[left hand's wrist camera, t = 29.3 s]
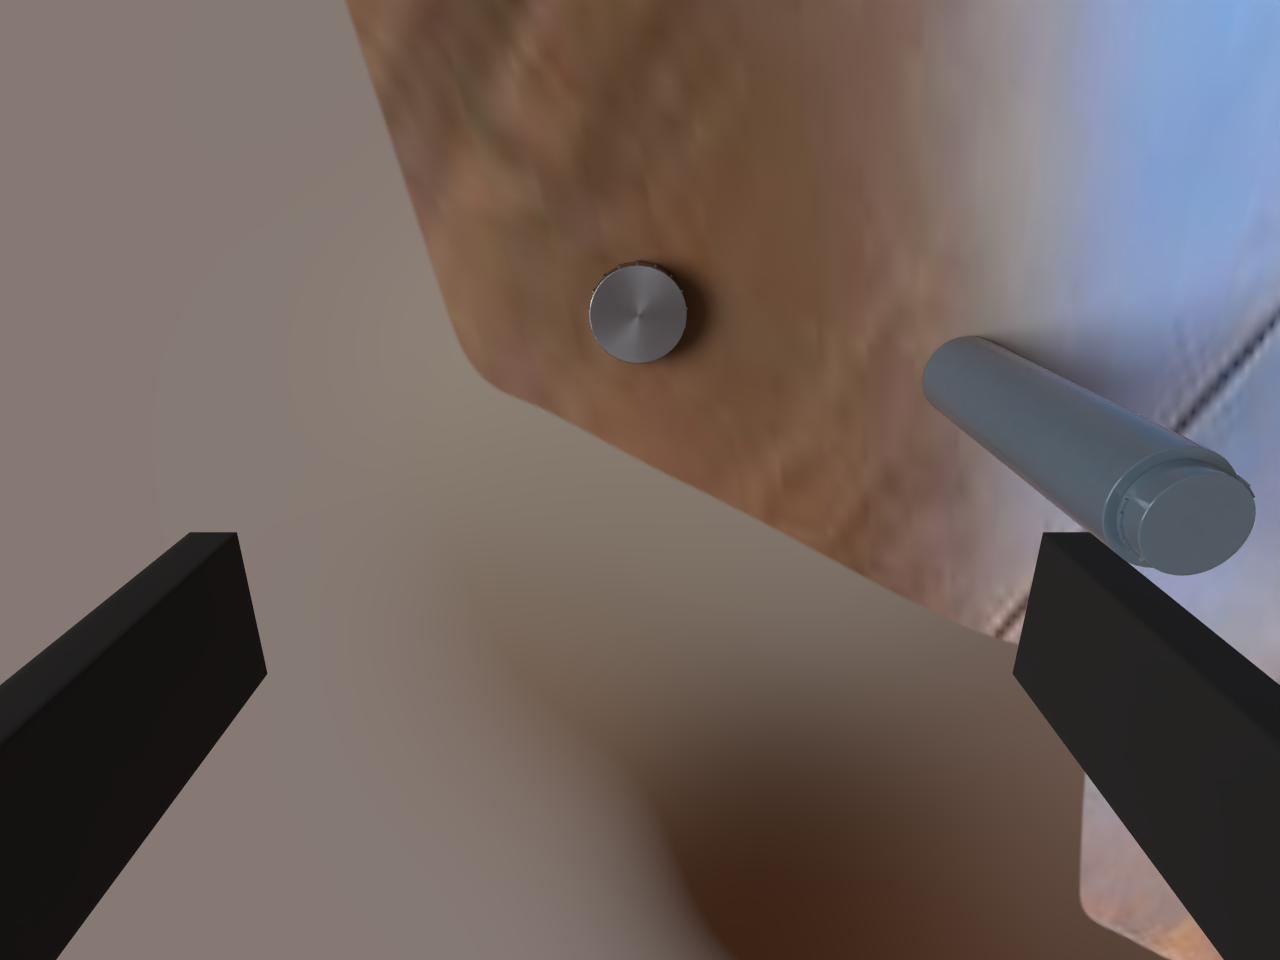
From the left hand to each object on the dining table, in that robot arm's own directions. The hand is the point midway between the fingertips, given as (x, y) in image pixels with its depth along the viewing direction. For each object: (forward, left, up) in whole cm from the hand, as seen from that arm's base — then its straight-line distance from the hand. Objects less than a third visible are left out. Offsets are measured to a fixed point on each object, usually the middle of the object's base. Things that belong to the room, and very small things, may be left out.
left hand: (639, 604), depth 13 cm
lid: (0, 0, -29) cm, 29 cm away
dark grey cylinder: (-14, +12, -30) cm, 35 cm away
